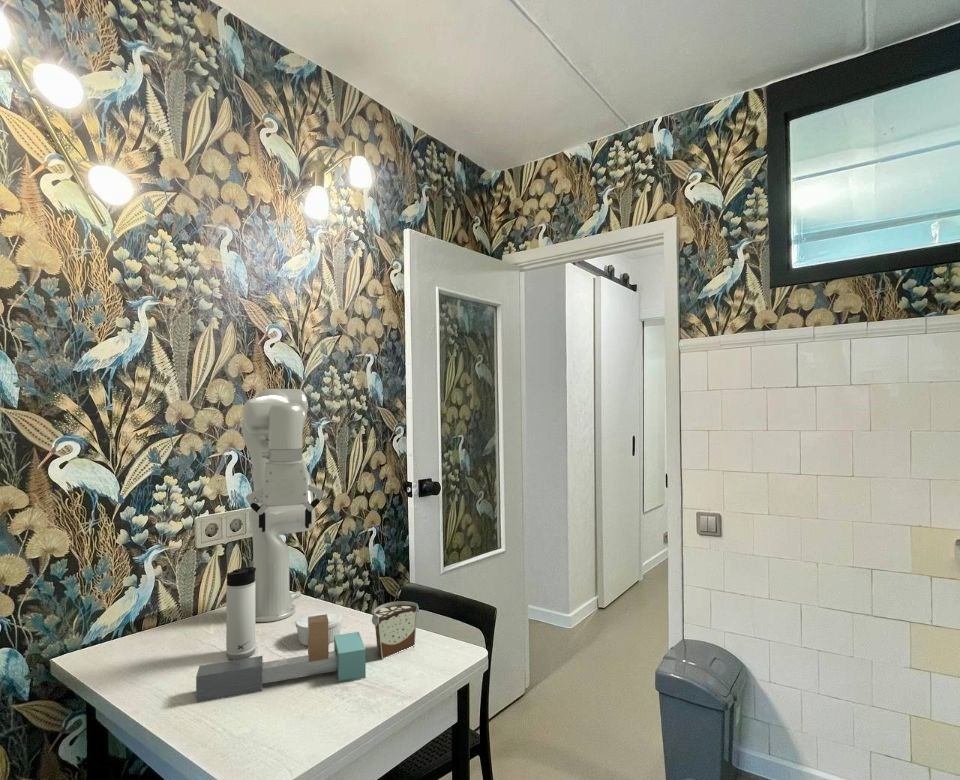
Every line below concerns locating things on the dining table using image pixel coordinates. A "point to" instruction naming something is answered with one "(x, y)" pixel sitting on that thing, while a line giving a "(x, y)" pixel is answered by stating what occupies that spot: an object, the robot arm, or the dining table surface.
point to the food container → (395, 627)
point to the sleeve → (229, 678)
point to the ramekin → (333, 625)
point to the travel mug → (240, 613)
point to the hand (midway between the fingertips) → (285, 528)
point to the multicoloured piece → (305, 665)
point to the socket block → (350, 657)
